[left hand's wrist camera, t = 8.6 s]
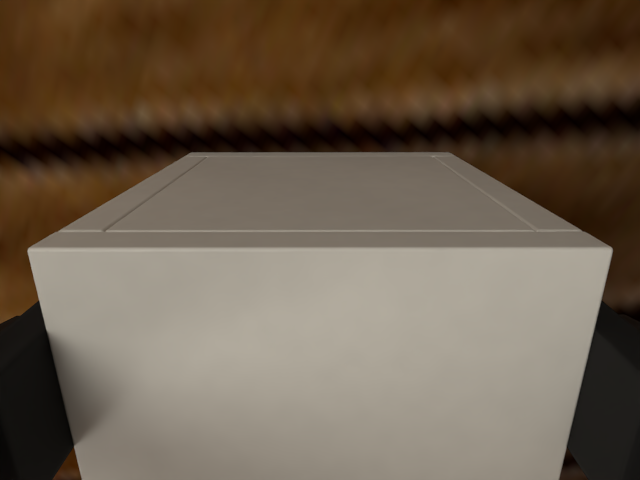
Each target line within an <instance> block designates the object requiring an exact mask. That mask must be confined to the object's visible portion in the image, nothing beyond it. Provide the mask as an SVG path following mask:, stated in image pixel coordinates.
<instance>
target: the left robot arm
mask: <svg viewBox="0 0 640 480" xmlns="http://www.w3.org/2000/svg"><path fill="white" fill-rule="evenodd" d="M73 447H74V444H73V440H72V435H71V431H70V427H69V423H68V419H67V414H66V410H65V406H64V402H63V398H62V394H61V389H60V385H59V381H58V377H57V373H56V368H55V364H54V360H53V356H52V352H51V347H50V343H49V339H48V335H47V331H46V326H45V322H44V318H43V314H42V310H41V305H40V301H38V302H37V303H35V304H34V305H33V306H32V307H31V308H29V309H28V310H27V311H26V312H25V313H23V314H22V315H21V316H15V317H13V318H11V319H9V320H7V321H5V322H3V323H1V324H0V480H52V479H53V478H54V476H55V474H56V473H57V471H58V470H59V468H60V467H61V465H62V464H63V462H64V461H65V459H66V458H67V456H68V455H69V453H70V452H71V450H72V448H73ZM567 448H568V449H569V451H570V452H571V454H572V455H573V457H574V458H575V460H576V461H577V463H578V464H579V466H580V468H581V469H582V471H583V472H584V474H585V475H586V477H587V478H588V480H640V322H639V321H637V320H635V319H633V318H631V317H629V316H627V315H625V314H617V313H616V312H615V311H614V310H612V309H611V308H610V307H609V306H608V305H606V304H605V303H604V302H603V301H601V304H600V308H599V313H598V317H597V321H596V325H595V329H594V334H593V338H592V342H591V346H590V351H589V355H588V359H587V363H586V367H585V372H584V376H583V380H582V384H581V389H580V393H579V397H578V401H577V406H576V410H575V414H574V418H573V422H572V427H571V431H570V435H569V439H568V444H567Z"/></svg>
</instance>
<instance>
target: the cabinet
mask: <svg viewBox="0 0 640 480" xmlns="http://www.w3.org/2000/svg"><path fill="white" fill-rule="evenodd" d="M612 253H613V249H612V247H610V246H608V245H607V244H605V243H603V242H602V241H600V240H598V239H597V238H595V237H593V236H591V235H590V234H588V233H586V232H582V230H580V229H579V228H577V227H575V226H574V225H572V224H570V223H568V222H567V221H565V220H563V219H562V218H560V217H558V216H557V215H555V214H553V213H551V212H550V211H548V210H546V209H545V208H543V207H541V206H540V205H538V204H536V203H535V202H533V201H531V200H529V199H528V198H526V197H524V196H523V195H521V194H519V193H518V192H516V191H514V190H512V189H511V188H509V187H507V186H506V185H504V184H502V183H501V182H499V181H497V180H495V179H494V178H492V177H490V176H489V175H487V174H485V173H484V172H482V171H480V170H479V169H477V168H475V167H473V166H472V165H470V164H468V163H467V162H465V161H463V160H462V159H460V158H458V157H456V156H455V155H453V154H451V153H449V152H219V153H190V154H188V155H186V156H185V157H183V158H181V159H180V160H178V161H176V162H175V163H173V164H171V165H169V166H168V167H166V168H164V169H163V170H161V171H159V172H158V173H156V174H154V175H153V176H151V177H149V178H147V179H146V180H144V181H142V182H141V183H139V184H137V185H136V186H134V187H132V188H131V189H129V190H127V191H125V192H124V193H122V194H120V195H119V196H117V197H115V198H114V199H112V200H110V201H109V202H107V203H105V204H103V205H102V206H100V207H98V208H97V209H95V210H93V211H92V212H90V213H88V214H87V215H85V216H83V217H81V218H80V219H78V220H76V221H75V222H73V223H71V224H70V225H68V226H66V227H65V228H63V229H61V230H59V232H55V233H53V234H52V235H50V236H48V237H47V238H45V239H43V240H41V241H40V242H38V243H36V244H35V245H33V246H31V247H30V248H28V255H29V259H30V264H31V268H32V272H33V276H34V280H35V284H36V289H37V293H38V297H39V301H40V305H41V310H42V314H43V318H44V322H45V326H46V331H47V335H48V339H49V343H50V347H51V352H52V356H53V360H54V364H55V368H56V373H57V377H58V381H59V385H60V389H61V394H62V398H63V402H64V406H65V410H66V414H67V419H68V423H69V427H70V431H71V435H72V440H73V444H74V448H75V452H76V456H77V461H78V465H79V469H80V473H81V477H82V480H559V477H560V473H561V469H562V465H563V460H564V456H565V452H566V448H567V444H568V439H569V435H570V431H571V427H572V422H573V418H574V414H575V410H576V406H577V401H578V397H579V393H580V389H581V384H582V380H583V376H584V372H585V367H586V363H587V359H588V355H589V351H590V346H591V342H592V338H593V334H594V329H595V325H596V321H597V317H598V313H599V308H600V304H601V300H602V296H603V291H604V287H605V283H606V279H607V274H608V270H609V266H610V262H611V258H612Z"/></svg>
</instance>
